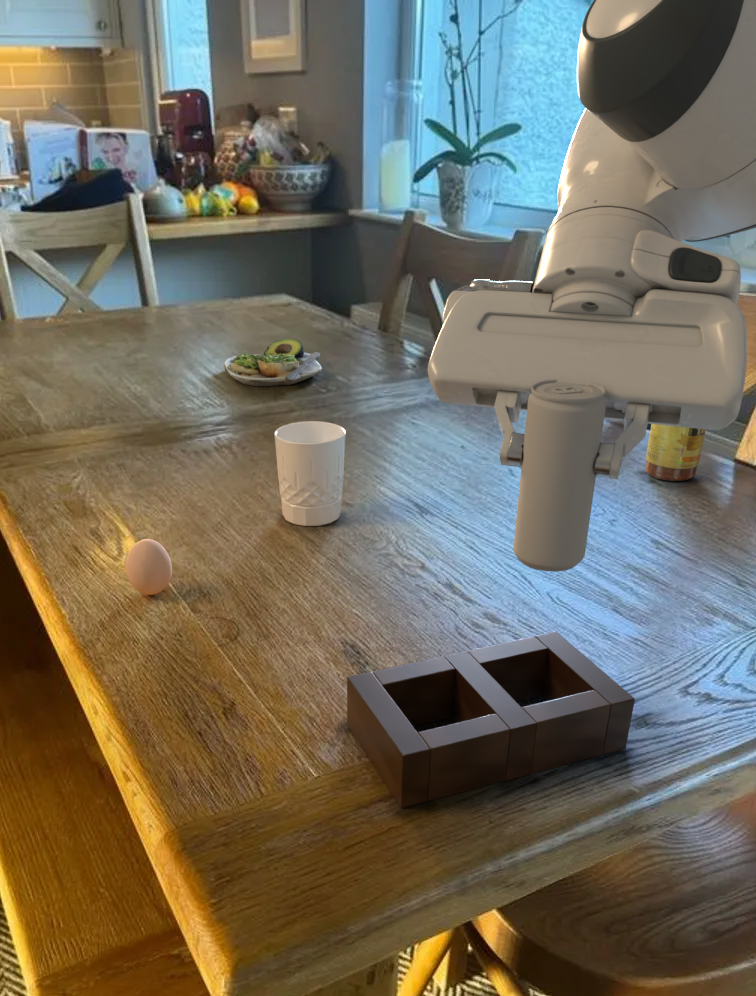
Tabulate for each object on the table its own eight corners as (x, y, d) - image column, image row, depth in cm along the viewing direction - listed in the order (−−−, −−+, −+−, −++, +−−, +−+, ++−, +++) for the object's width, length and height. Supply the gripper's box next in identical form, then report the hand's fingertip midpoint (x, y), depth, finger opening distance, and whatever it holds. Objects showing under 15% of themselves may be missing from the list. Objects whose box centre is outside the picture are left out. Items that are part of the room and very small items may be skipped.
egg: (180, 584, 90) (175, 532, 88) (165, 605, 87) (159, 552, 84) (139, 580, 91) (132, 529, 89) (121, 601, 88) (114, 548, 85)
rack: (550, 677, 74) (556, 631, 72) (626, 749, 66) (635, 698, 64) (346, 725, 69) (346, 676, 67) (401, 808, 61) (403, 756, 59)
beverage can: (595, 571, 61) (621, 396, 55) (527, 577, 60) (546, 401, 55) (566, 541, 65) (587, 376, 59) (502, 547, 65) (517, 381, 59)
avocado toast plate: (338, 386, 152) (338, 358, 149) (232, 394, 149) (231, 366, 147) (316, 358, 168) (316, 333, 166) (221, 365, 166) (219, 340, 164)
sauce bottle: (689, 487, 109) (722, 319, 100) (637, 478, 113) (664, 314, 103) (701, 470, 114) (734, 308, 105) (651, 462, 117) (678, 304, 108)
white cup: (286, 500, 109) (283, 419, 104) (350, 504, 107) (350, 422, 103) (270, 526, 102) (266, 441, 97) (339, 531, 101) (338, 445, 96)
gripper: (446, 251, 63) (396, 428, 60) (768, 263, 55) (731, 466, 52) (459, 305, 69) (415, 469, 66) (753, 323, 61) (719, 509, 58)
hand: (558, 468), depth 59 cm, fingers closed on beverage can, 5 cm apart
